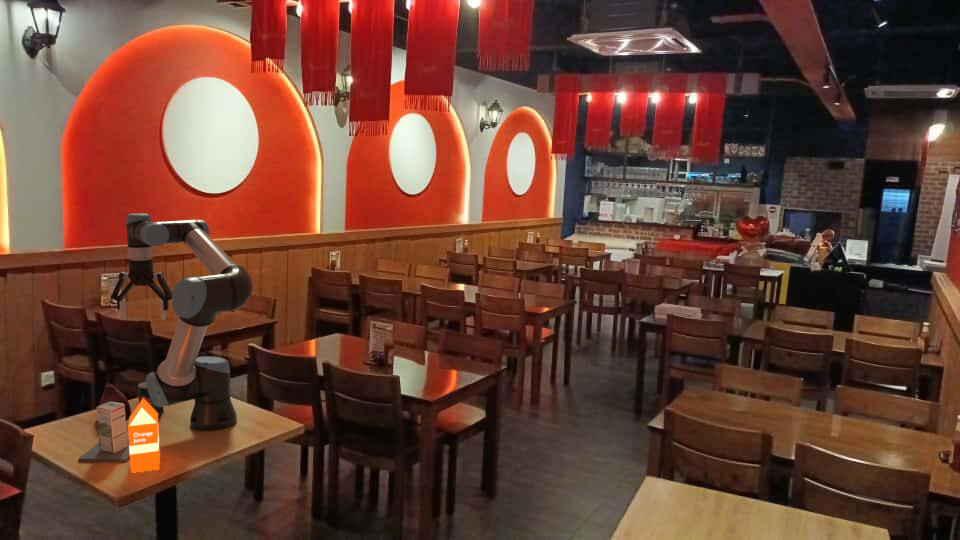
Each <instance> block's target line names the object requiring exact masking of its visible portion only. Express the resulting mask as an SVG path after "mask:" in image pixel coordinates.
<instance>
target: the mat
mask: <svg viewBox="0 0 960 540" xmlns="http://www.w3.org/2000/svg"><path fill="white" fill-rule="evenodd" d="M128 461H130V451H129V439H127V447H126V448H124V449H122V450H120V451H118V452H116V453H109V452H104V451H100V447H99V442H97V443H96V445H94V446H93V447H91V448H90V449H89V450H87V451H86V452H85V453H84V454H82V455H81V456H80V457H79V458H78V462H79V463H82V462H83V463H94V462H95V463H127V462H128Z"/></svg>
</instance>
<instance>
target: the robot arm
mask: <svg viewBox="0 0 960 540" xmlns="http://www.w3.org/2000/svg"><path fill="white" fill-rule="evenodd" d="M125 220H126V221H125V226H126V227H125V228H126V242H127V258H128V259H129V260H128V262H127V264H128V272H126V271H122V272H119V275H118V280H117V283H116V284H115V287H114V289H113V291H112V293H111V295H110V299H111V300H115V301H116V307H117V310H118V311H119V315H120V321H122V320H125V319H126V318H127V308H126V299H124V298H125V297H126V296H127V295H128V293H129V292H130V291H131V290H132V289H133V287H134V286H136V287H140V286H142V287H146V286H147V287H149V288H150V289H151V290H152V291H153V292H154V293H155V294H156V295H157V297H159V298H160V300H161V301H160V320H161V321H165V320H166V319H167V311H168V310H169V306H170V305H169V301H171V306H172V310H173V311H174V312H173V313H175V315H176V316H177V318H178V320H177V324H176V327H175V330H174V333H173V336H172V339H171V342H170V346H169V347H168V348H169V349H168V351H167V354H166V358H165V360H163V361H161V363H159V365H158V366H157V369H156V371H155V372H154V371H151V372H149V373H148V374H147V375H146V383H147V389H148V393H149V396H150V398H151V400H152V402H153V403H154V405H155V406H157V407H163V408H164V407H169V406H172V405H177V404H181V403H185V402H188V401H192V400H194V405H193V409H192V411H191V414H190V418H189V423H190V424H189V426H190V428H191V429H194V430H197V431H207V432H208V431H210V432H211V431H218V430H223V429H226V428H229V427H230V426H233V425H234V424H236V423H237V417H238V416H237V412H236V410H235V407H234V405H233V401H232V400H231V370H230V364H229V361H228V360H227V359H225V358H222V357H218V356H198V355H199V353H200V349H201V346H202V343H203V341H204V337H205V335H206V332H207V330H208V327H209V326H211V325H212V324H214V323H215V321H216V320H217V318H218V317H217V316H218V314H219V313H220V314H221V313H226V312H231V311H237V310H240V309H241V308H242V307H244V306H245V305H246V304H247V303H248V302H249V300H250V299H251V297H252V294H253V290H254V285H253V279H252V276H251V275H250V273H249V272H248V271H247V270H246V268H245V267H243V266H242V265H241V264H237V263H235V262H234V260H232V259H231V258H230V256H229V255H228V254H227V253H226V252H225V251H224V250H223V249H222V248H221V247H220V246H219V245H218V244H217V243H216V242H215V241H214V240H213V238H211V237H210V228H209V226H208V223H207V222H206V221H204V220H203V219H201V220H200V219H189V220H174V221H173V220H172V221H171V220H169V221H152V220H151V215H150V214H148V213H129V214H127V215H126V218H125ZM169 244H185V245H186V247H188V249H189V250H190V252H192V253H193V255H194V256H196V258H197V259H198V260H199V262H201V264H203V266H204V267H205V268H206V270H208V271H209V273H211V274H210V275H203V276H196V275H195V276H190V277H185V278H182V279H180V280H179V281H177V283H176V284H175V285H174V287H173V289H172V290H171V288H170V287H169V285H168V283H167V282H166V279H165V278H164V273H163V272H161V271H160V272H157V273H154V261H153V259H152V258H153V247H161V246H163V245H169ZM127 278H128V279H129V280H130V281H129V283H128V284H127V285H126V286H125V287H124V289H122V287H123V286H124V284H125V281H126V280H127ZM154 279H156V280H157V281H158V284H159V285H160V287H161V288H160V287H159V286H158V285H157V282H155V280H154ZM121 290H122V291H121ZM120 292H121V293H120Z"/></svg>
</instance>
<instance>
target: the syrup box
mask: <svg viewBox="0 0 960 540" xmlns="http://www.w3.org/2000/svg"><path fill="white" fill-rule="evenodd" d="M96 418H97V419H96V420H97V430H98V431H97V433H98V443H99V447H100V451H104V452H109V453H116V452H118V451H120V450H122V449H124V448H126V447H127V440H128V437H127V436H128V435H127V423H126V421H127V420H126V419H125V405H124V404H122V403H116V402H107V403H104V404H102V405H100V406H99V405H98V406H96Z"/></svg>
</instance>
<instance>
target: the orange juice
mask: <svg viewBox="0 0 960 540" xmlns="http://www.w3.org/2000/svg"><path fill="white" fill-rule="evenodd" d="M128 419H129V420H128V425H127V431H128V440H129V451H130V459H129V461H130V462H129V465H130V474H131V473H134V474H137V473H136V472H141V473H145V472H144V471H148V472H152V471H151V470H155V471H159V470H160V466H161V465H160V464H161V463H160V462H161V451H160V450H161V449H160V434H159V433H160V431H159V430H160V429H159V415H158V413H157V412H156V411H155V410H154V409H153V408H152V406H151V405H150V404H149V403H148V402H147V401H146V400H145V399H144V398H143V399H142V400H141V402H140V403H139V402H138V404H137V406H136V407H135V409H134V411H132V412H131V416H130V417H129V418H128ZM159 465H160V466H159Z"/></svg>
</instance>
